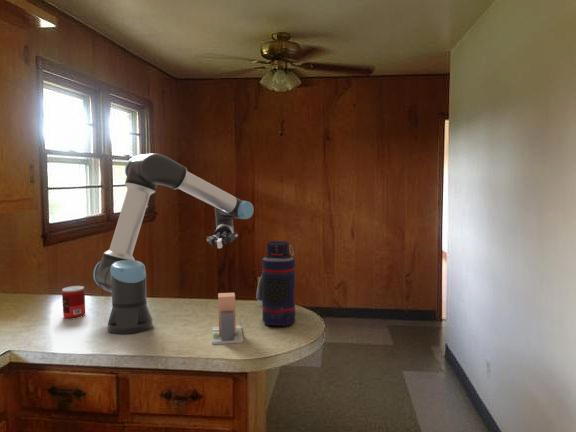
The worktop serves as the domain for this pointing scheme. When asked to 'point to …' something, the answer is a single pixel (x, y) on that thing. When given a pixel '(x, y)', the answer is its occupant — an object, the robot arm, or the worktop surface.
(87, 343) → the worktop surface
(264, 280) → the navy red-striped canister
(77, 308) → the canned food
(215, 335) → the gauge base
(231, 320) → the dark grey rubber block
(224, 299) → the tall salmon pillar
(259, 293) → the pump dispenser
